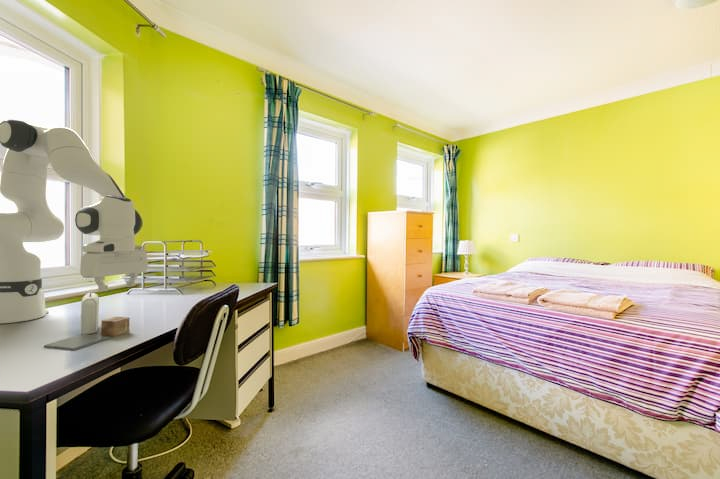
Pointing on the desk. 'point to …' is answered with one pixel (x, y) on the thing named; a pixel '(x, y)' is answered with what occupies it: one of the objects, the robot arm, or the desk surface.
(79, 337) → the slate pad
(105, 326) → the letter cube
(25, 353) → the desk surface
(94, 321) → the white rounded upright block
